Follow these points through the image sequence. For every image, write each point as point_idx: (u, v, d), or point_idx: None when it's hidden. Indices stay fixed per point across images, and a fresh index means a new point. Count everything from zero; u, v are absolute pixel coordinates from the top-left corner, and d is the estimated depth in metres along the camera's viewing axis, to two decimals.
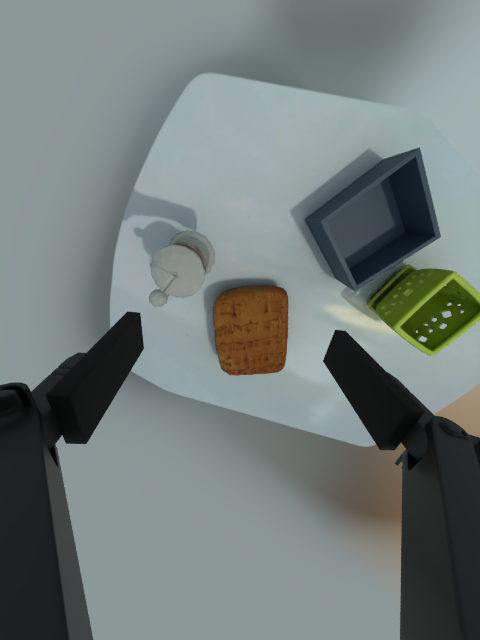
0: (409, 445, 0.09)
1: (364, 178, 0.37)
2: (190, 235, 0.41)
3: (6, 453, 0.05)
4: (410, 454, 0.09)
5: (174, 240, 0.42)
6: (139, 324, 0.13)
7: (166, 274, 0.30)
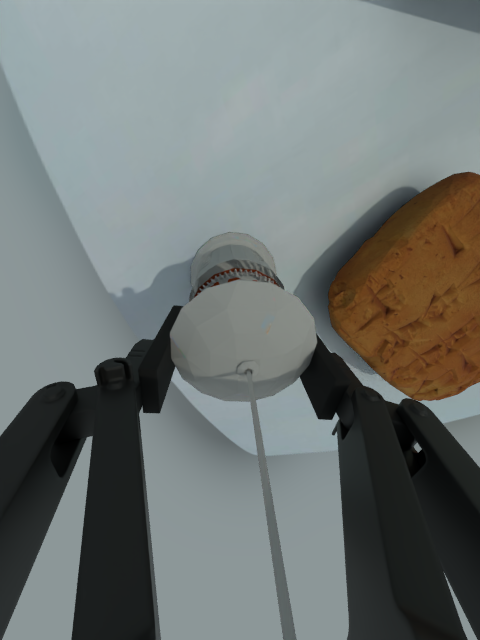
0: (341, 416, 0.10)
1: None
2: (207, 252, 0.21)
3: (113, 413, 0.07)
4: (342, 423, 0.10)
5: (194, 280, 0.23)
6: None
7: (225, 380, 0.11)
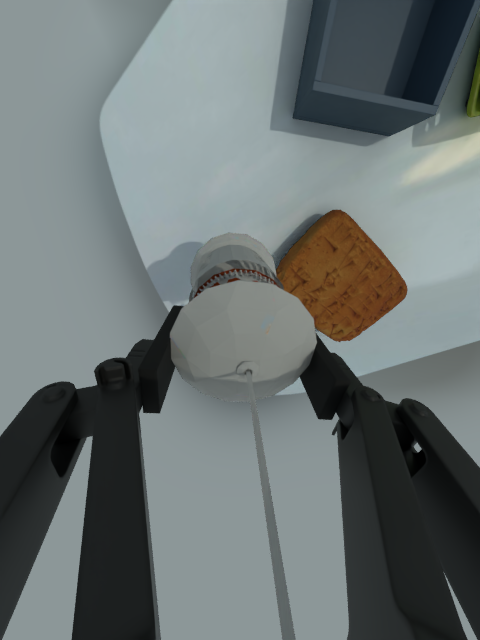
0: (341, 416, 0.10)
1: None
2: (207, 252, 0.21)
3: (113, 413, 0.07)
4: (342, 423, 0.10)
5: (194, 281, 0.23)
6: None
7: (225, 381, 0.11)
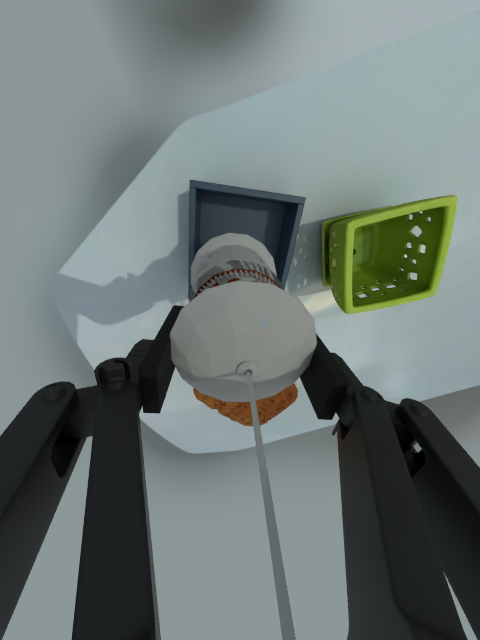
0: (341, 416, 0.10)
1: None
2: (207, 252, 0.21)
3: (113, 413, 0.07)
4: (342, 423, 0.10)
5: (194, 281, 0.23)
6: None
7: (225, 381, 0.11)
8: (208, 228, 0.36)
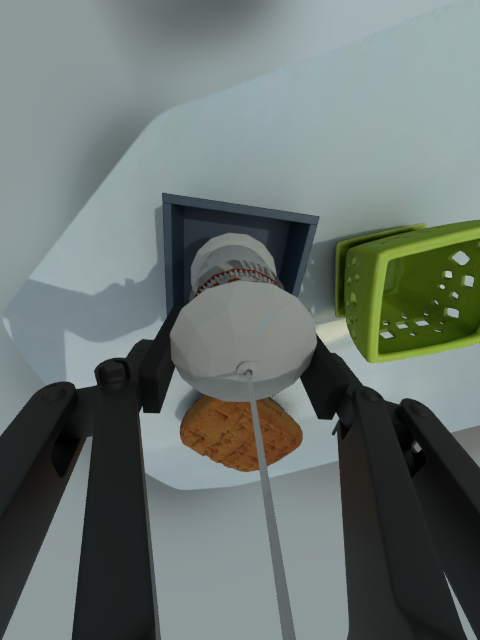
0: (340, 416, 0.10)
1: None
2: (207, 252, 0.21)
3: (113, 413, 0.07)
4: (342, 423, 0.10)
5: (194, 281, 0.23)
6: None
7: (225, 381, 0.11)
8: (194, 249, 0.28)
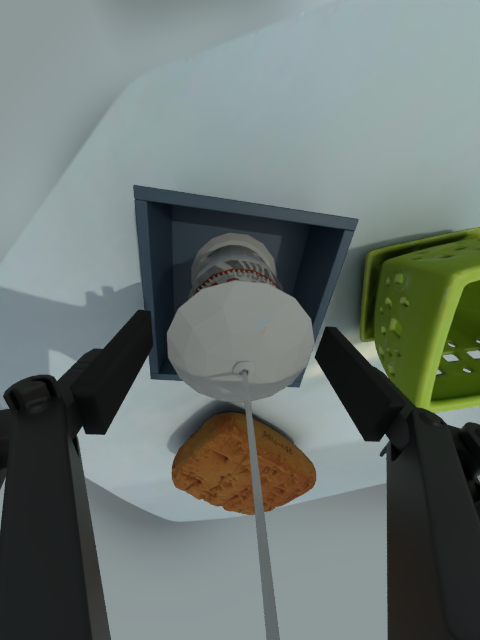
0: (392, 437, 0.09)
1: None
2: (207, 252, 0.21)
3: (35, 440, 0.06)
4: (393, 445, 0.09)
5: (195, 281, 0.23)
6: (150, 322, 0.13)
7: (222, 381, 0.11)
8: (185, 260, 0.22)
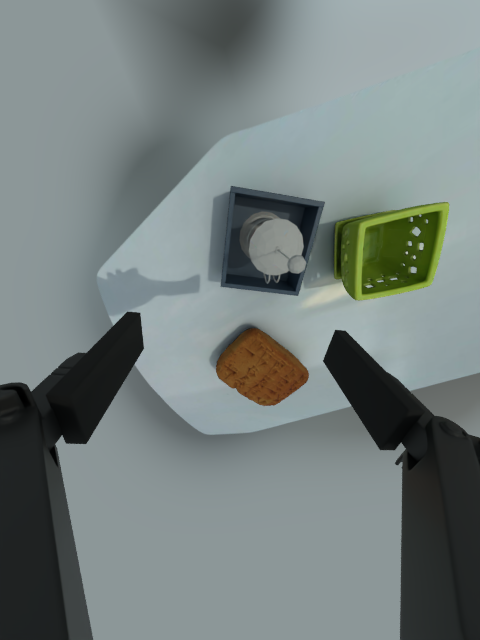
0: (409, 445, 0.09)
1: None
2: (250, 221, 0.41)
3: (6, 453, 0.05)
4: (410, 454, 0.09)
5: (242, 238, 0.42)
6: (139, 324, 0.13)
7: (270, 256, 0.30)
8: (237, 226, 0.42)
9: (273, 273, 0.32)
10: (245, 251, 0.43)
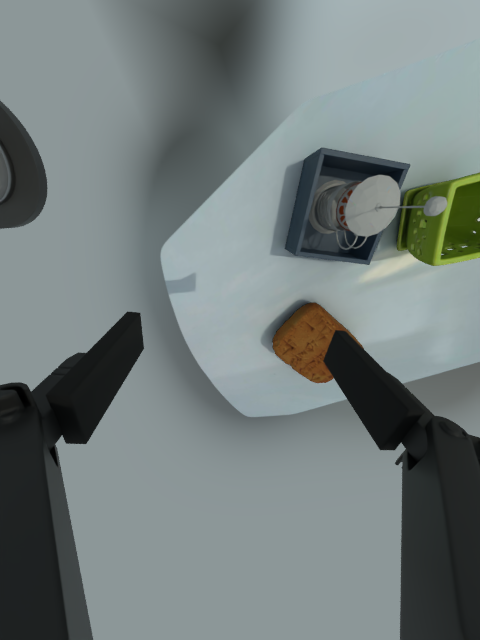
0: (409, 445, 0.09)
1: (301, 191, 0.40)
2: (322, 190, 0.41)
3: (6, 453, 0.05)
4: (410, 454, 0.09)
5: (311, 208, 0.42)
6: (139, 324, 0.13)
7: (369, 214, 0.30)
8: None
9: (365, 234, 0.32)
10: (313, 222, 0.44)
